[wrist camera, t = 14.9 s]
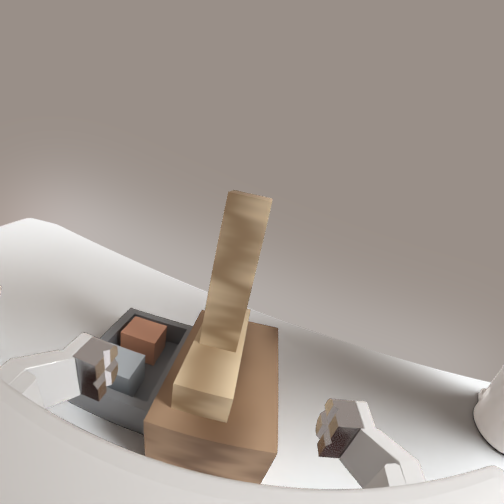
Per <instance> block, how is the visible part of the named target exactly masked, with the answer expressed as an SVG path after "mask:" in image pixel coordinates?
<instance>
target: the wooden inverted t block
mask: <svg viewBox="0 0 504 504" xmlns="http://www.w3.org/2000/svg"><path fill="white" fill-rule="evenodd" d="M271 205H272V199H271V198H267V197H263V196H258V195H254V194H249V193H245V192H241V191H236V190H233V191H230V192H228V196H227V201H226V206H225V210H224V215H223V221H222V225H221V230H220V235H219V240H218V244H217V250H216V255H215V260H214V265H213V270H212V276H211V281H210V287H209V291H208V297H207V302H206V308H205V313H204V319H203V323H202V325H201V327H200V329H199V331H198V333H197V335H196V337H195V339H194V341H193V344H192V346H191V348H190V350H189V352H188V354H187V356H186V358H185V360H184V362H183V364H182V366H181V368H180V371H179V373H178V375H177V377H176V379H175V381H174V383H173V392H172V403H171V408H173V409H176V410H179V411H183V412H186V413H190V414H193V415H197V416H201V417H205V418H209V419H213V420H217V421H221V422H225V423H227V420H228V416H229V413H230V409H231V406H232V402H233V398H234V393H235V388H236V383H237V378H238V372H239V367H240V362H241V357H242V352H243V346H244V341H245V336H246V330H247V325H248V320H249V315H250V309H247V305H248V301H249V297H250V293H251V289H252V285H253V280H254V276H255V272H256V268H257V264H258V260H259V255H260V251H261V247H262V243H263V239H264V235H265V230H266V226H267V222H268V218H269V213H270V209H271Z"/></svg>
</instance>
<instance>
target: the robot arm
mask: <svg viewBox="0 0 504 504" xmlns="http://www.w3.org/2000/svg"><path fill="white" fill-rule="evenodd" d="M117 355H118V348H117V346H116V345H113V344H111V343H109V342H106V341H104V340H102V339H99V338H97V337H94V336H92V335H90V334H87V333H85V332H84V333H81V334H80V335H79V336H78V337H76V338H75V339H74V340H73V341H72V342H71V343H70V344H68V345H67V346H66V347H65V348H64V349H63V350H62V351H60V350H54V351H49V352H44V353H39V354H34V355H28V356H23V357H17V358H12V359H9V360H8V361H7V362H6V363H4V364H3V365H2V366H1V367H0V504H504V470H502V469H501V468H498V467H496V466H487V467H484V468H480V469H477V470H474V471H470V472H467V473H463V474H459V475H455V476H451V477H446V478H442V479H437V480H432V481H426V479H425V476H424V473H423V471H422V468H421V466H420V463H419V461H418V460H417V459H416V458H415V457H413V456H412V455H411V454H410V453H408V452H407V451H406V450H404V449H403V448H402V447H401V446H400V445H398V444H397V443H396V442H395V441H393V440H392V439H391V438H390V437H388V436H387V435H386V434H385V433H384V432H382V431H381V430H380V429H376V426H375V423H374V420H373V418H372V415H371V412H370V409H369V406H368V404H367V402H366V401H355V400H354V401H351V400H341V399H332V398H330V399H329V400H328V401H327V402H326V404H325V411H324V412H322V413H321V414H320V416H319V418H318V420H317V424H316V436H317V437H318V438H319V439H320V440H319V442H318V443H317V446H318V454H319V457H329V458H340V459H339V460H340V461H341V462H342V463H343V465H344V466H345V467H346V468H347V470H348V471H349V472H350V473H351V475H352V476H353V477H354V478H355V480H356V481H357V482H358V483H359V485H360V486H361V487H362V488H363V489H308V488H293V487H281V486H272V485H264V484H257V483H250V482H244V481H238V480H232V479H227V478H222V477H218V476H213V475H209V474H204V473H200V472H196V471H192V470H189V469H185V468H181V467H178V466H175V465H171V464H168V463H165V462H162V461H159V460H156V459H153V458H150V457H147V456H144V455H141V454H139V453H136V452H133V451H131V450H128V449H126V448H123V447H121V446H118V445H116V444H113V443H111V442H109V441H107V440H104V439H102V438H100V437H98V436H96V435H93V434H91V433H89V432H87V431H85V430H83V429H81V428H79V427H77V426H75V425H73V424H71V423H70V422H68V421H66V420H64V419H62V418H60V417H59V416H57V415H55V414H53V413H52V412H50V411H48V410H47V409H48V408H50V407H52V406H55V405H57V404H60V403H62V402H65V401H67V400H69V399H72V398H74V397H76V396H79V395H80V394H82V395H85V396H87V397H89V398H91V399H94V400H96V401H98V402H99V401H100V400H101V399H102V397H103V396H104V395H105V393H106V392H107V389H106V386H109V385H112V384H113V382H114V381H115V379H116V376H117V373H118V362H117V361H116V359H115V357H116V356H117ZM478 400H479V401H478V403H477V404H476V406H475V408H474V420H475V423H476V425H477V427H478V429H479V431H480V433H481V434H482V435H483V437H484V438H485V439H486V440H487V441H488V442H489V443H490V444H491V445H492V446H493V447H494V448H495V449H497V450H498V451H500V452H501V453H503V454H504V365H503V366H502V368H501V369H500V371H499V372H498V374H497V375H496V377H495V378H494V379H493V381H492V382H491V384H490V385H489V387H488V388H487V389H485V388H483V389H482V390H481V391H480V392H479V394H478Z"/></svg>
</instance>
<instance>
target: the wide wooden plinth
mask: <svg viewBox="0 0 504 504" xmlns="http://www.w3.org/2000/svg"><path fill="white" fill-rule="evenodd" d="M204 313H205V311H204V310H202V311H201V313H200V314H199V316H198V318H197V320H196V322H195V324H194V326H193V327H192V329H191V331H190V333H189V335H188V337H187V339H186V341H185V342H184V344H183V346H182V348H181V350H180V352H179V354H178V356H177V357H176V359H175V361H174V363H173V365H172V367H171V369H170V371H169V373H168V375H167V376H166V378H165V380H164V382H163V384H162V386H161V388H160V390H159V392H158V394H157V396H156V397H155V399H154V401H153V403H152V405H151V407H150V409H149V411H148V413H147V415H146V417H145V419H144V448H145V456H147V457H150V458H153V459H156V460H159V461H162V462H165V463H168V464H171V465H175V466H178V467H181V468H185V469H189V470H192V471H196V472H200V473H204V474H209V475H213V476H218V477H222V478H227V479H232V480H238V481H244V482H250V483H257V484H260V483H261V482H262V480H263V478H264V477H265V475H266V473H267V471H268V469H269V468H270V466H271V464H272V462H273V460H274V459H275V457H276V455H277V448H278V328H276V327H271V326H266V325H262V324H257V323H253V322H249V321H248V325H247V330H246V336H245V341H244V346H243V352H242V357H241V362H240V367H239V372H238V378H237V383H236V388H235V393H234V398H233V402H232V406H231V409H230V413H229V416H228V420H227V423H225V422H221V421H217V420H213V419H209V418H205V417H201V416H197V415H193V414H190V413H186V412H183V411H179V410H176V409H173V408H171V403H172V392H173V383H174V381H175V379H176V377H177V375H178V373H179V371H180V368H181V366H182V364H183V362H184V360H185V358H186V356H187V354H188V352H189V350H190V348H191V346H192V344H193V341H194V339H195V337H196V335H197V333H198V331H199V329H200V327H201V325H202V323H203V319H204Z"/></svg>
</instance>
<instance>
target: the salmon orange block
mask: <svg viewBox="0 0 504 504" xmlns="http://www.w3.org/2000/svg"><path fill="white" fill-rule="evenodd" d="M166 332H167V326H166V325H162V324H159V323H156V322H152V321H149V320H146V319H143V318H140V317H137V316H135V317H134V318H133V319H132V321H131V322H130V323H129V324H128V325H127V326H126V327H125V328H124V329H123V330H122V331H121V347H123V348H126V349H129V350H132V351H134V352H137V353H140V354H143V355H145V363H147V364H150V365H153V366H154V364H155V362H156V361H157V359H158V357H159V356H160V354H161V353H162V351H163V349H164V348H165V342H166Z"/></svg>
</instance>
